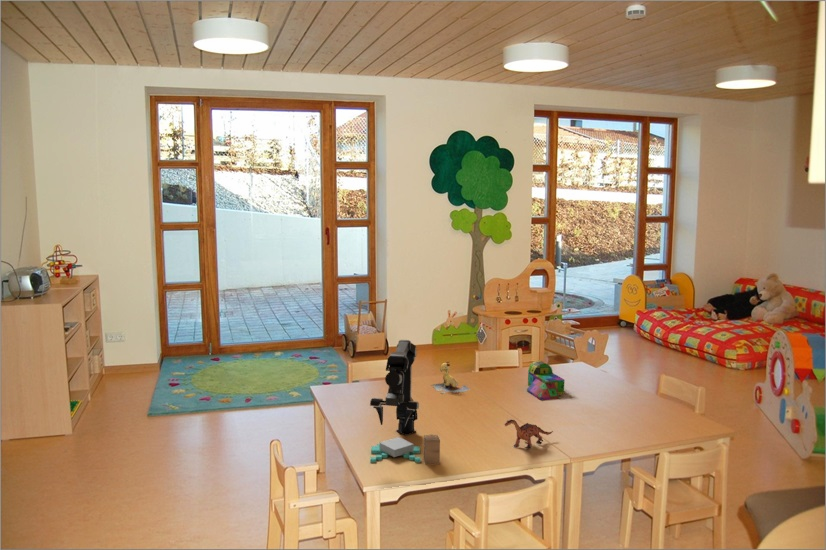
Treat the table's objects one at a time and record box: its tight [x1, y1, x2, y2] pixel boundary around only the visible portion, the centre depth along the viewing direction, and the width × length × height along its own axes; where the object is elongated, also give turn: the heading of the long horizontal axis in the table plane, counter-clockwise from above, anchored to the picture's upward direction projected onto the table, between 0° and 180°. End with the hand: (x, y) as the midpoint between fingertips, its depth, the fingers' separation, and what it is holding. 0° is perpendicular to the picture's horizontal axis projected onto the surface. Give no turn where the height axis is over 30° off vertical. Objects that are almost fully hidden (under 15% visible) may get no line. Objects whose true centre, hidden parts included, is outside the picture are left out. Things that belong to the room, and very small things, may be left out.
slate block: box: [379, 436, 415, 458], centre depth 271 cm, size 10×10×3 cm
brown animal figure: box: [504, 418, 554, 450], centre depth 279 cm, size 8×30×15 cm, turn 135°
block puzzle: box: [526, 360, 566, 401], centre depth 355 cm, size 25×17×14 cm
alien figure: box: [369, 443, 422, 464], centre depth 272 cm, size 20×2×20 cm
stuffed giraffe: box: [430, 360, 471, 394], centre depth 359 cm, size 16×18×16 cm
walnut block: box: [423, 434, 441, 466], centre depth 263 cm, size 6×6×10 cm
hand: (393, 426), depth 260 cm, fingers open, 9 cm apart
